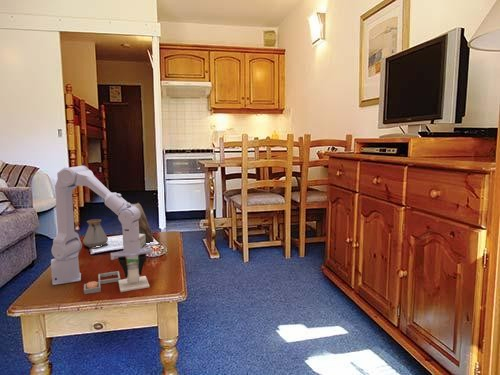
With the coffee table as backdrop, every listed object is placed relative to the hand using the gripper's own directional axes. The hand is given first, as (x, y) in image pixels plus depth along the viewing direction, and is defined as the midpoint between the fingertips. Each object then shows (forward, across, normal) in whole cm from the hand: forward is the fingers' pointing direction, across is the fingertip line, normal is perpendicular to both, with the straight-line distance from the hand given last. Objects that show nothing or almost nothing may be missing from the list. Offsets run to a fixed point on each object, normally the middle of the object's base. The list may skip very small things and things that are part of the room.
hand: (133, 275), depth 133 cm
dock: (+4, -10, +6) cm, 12 cm away
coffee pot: (+4, -12, +52) cm, 53 cm away
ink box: (+4, +4, +24) cm, 25 cm away
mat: (+4, 0, 0) cm, 4 cm away
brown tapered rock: (+4, +9, +51) cm, 52 cm away
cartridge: (+2, 0, 0) cm, 2 cm away
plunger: (+3, -14, +1) cm, 14 cm away
